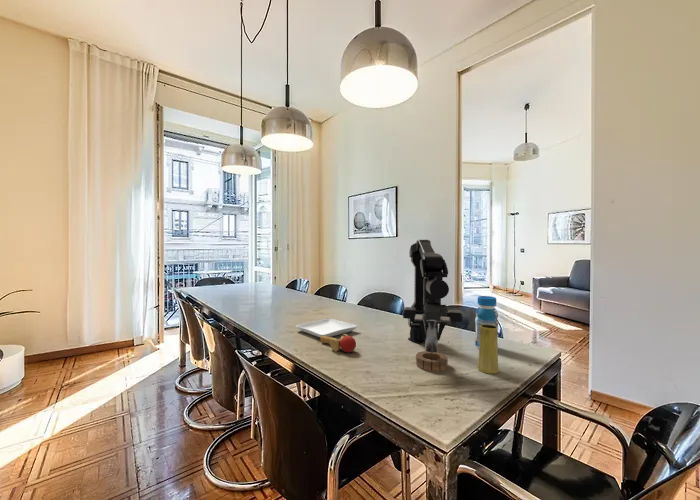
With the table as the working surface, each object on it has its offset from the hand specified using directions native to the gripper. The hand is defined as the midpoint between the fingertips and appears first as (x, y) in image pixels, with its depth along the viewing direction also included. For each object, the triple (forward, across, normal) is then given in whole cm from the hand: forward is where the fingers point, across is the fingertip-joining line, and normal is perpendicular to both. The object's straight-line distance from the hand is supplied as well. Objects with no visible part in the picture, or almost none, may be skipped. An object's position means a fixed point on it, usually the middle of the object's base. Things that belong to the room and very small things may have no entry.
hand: (431, 339), depth 102 cm
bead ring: (+8, 0, 0) cm, 9 cm away
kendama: (+9, -36, +8) cm, 38 cm away
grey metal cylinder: (+4, 0, 0) cm, 4 cm away
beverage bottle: (+9, +21, +24) cm, 33 cm away
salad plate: (+9, -47, +28) cm, 55 cm away
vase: (+9, +18, +1) cm, 20 cm away
